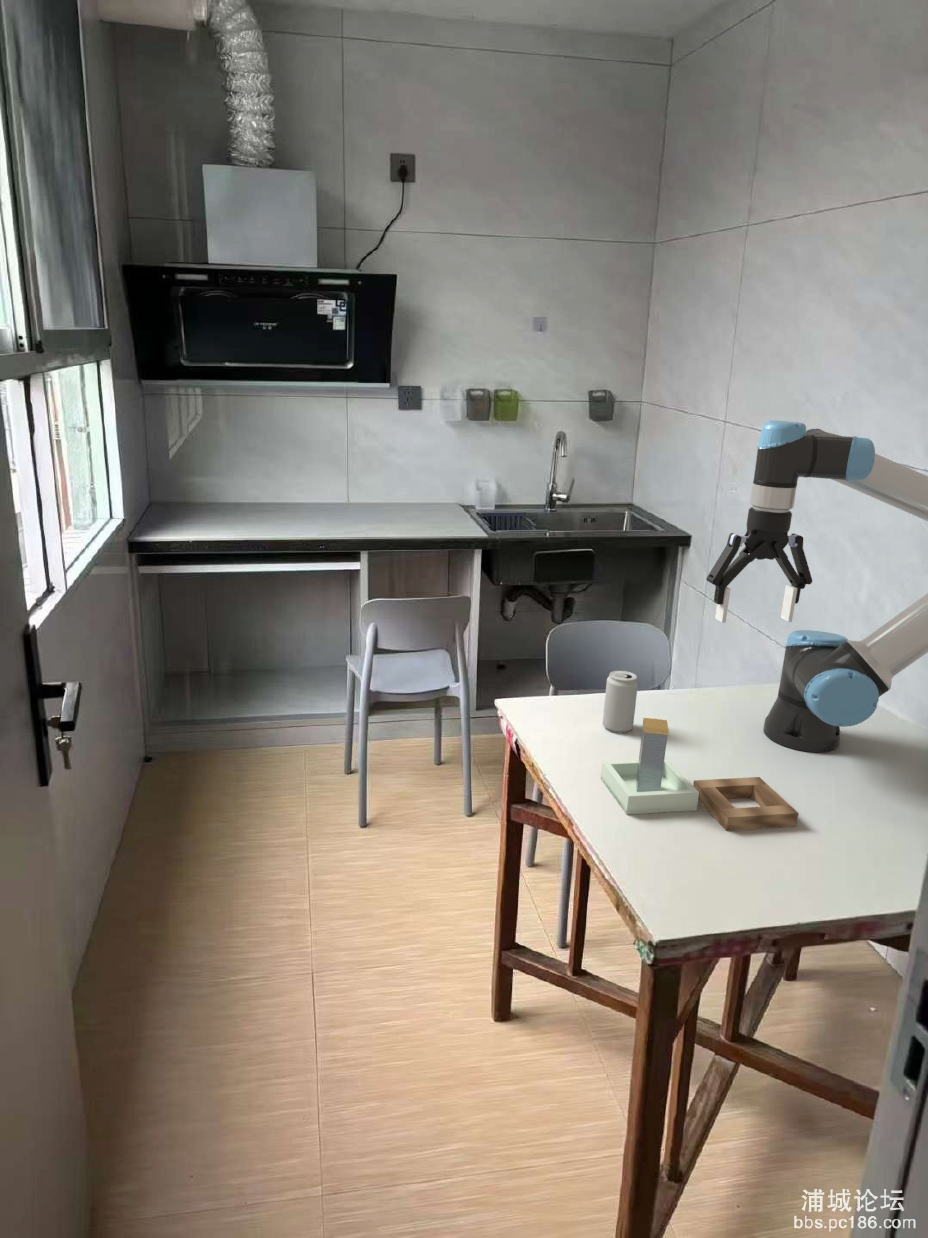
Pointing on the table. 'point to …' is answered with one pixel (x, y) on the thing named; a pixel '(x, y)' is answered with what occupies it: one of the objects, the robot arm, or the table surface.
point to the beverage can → (620, 701)
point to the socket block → (732, 818)
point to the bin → (669, 798)
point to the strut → (651, 755)
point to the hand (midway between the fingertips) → (753, 620)
